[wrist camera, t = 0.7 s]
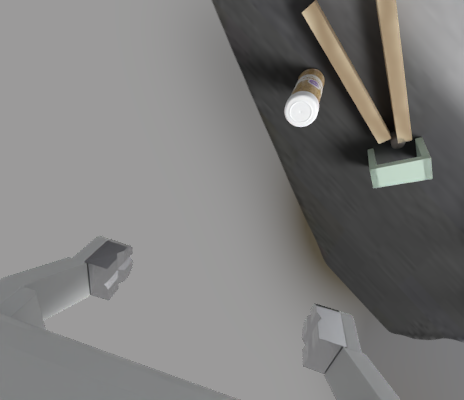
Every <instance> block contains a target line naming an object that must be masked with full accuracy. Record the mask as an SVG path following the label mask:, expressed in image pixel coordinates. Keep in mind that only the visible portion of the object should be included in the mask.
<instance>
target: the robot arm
mask: <svg viewBox="0 0 464 400" xmlns="http://www.w3.org/2000/svg"><path fill="white" fill-rule="evenodd" d="M131 254H132V247H131V246H129V245H126V244H123V243H120V242H117V241H115V240H112V239H108V238H105V237H102V236H99V237H96V238H95V239H94V240H93V241H91V242H90V243H89V244H88V245H87V246H86V247H84V248H83V249H82V250H81V251H80V252H79V253H77V254H76V255H75V256H74V257H73V258H69V257H68V258H65V259H62V260H58V261H56V262H52V263H49V264H46V265H42V266H39V267H36V268H33V269H30V270H26V271H23V272H20V273H17V274H14V275H10V276H7V277H4V278H2V279H1V280H0V400H239V399H236V398H234V397H231V396H228V395H225V394H223V393H220V392H217V391H214V390H212V389H208V388H206V387H203V386H200V385H198V384H195V383H192V382H189V381H186V380H184V379H181V378H178V377H175V376H172V375H170V374H167V373H164V372H161V371H159V370H156V369H153V368H150V367H148V366H145V365H142V364H139V363H136V362H134V361H131V360H128V359H125V358H123V357H120V356H117V355H114V354H111V353H108V352H106V351H103V350H100V349H98V348H95V347H92V346H89V345H87V344H84V343H81V342H78V341H76V340H72V339H70V338H67V337H64V336H61V335H59V334H56V333H53V332H50V331H48V330H46V329H45V325H44V320H45V319H47V318H49V317H51V316H53V315H55V314H57V313H59V312H60V311H62V310H64V309H66V308H68V307H70V306H72V305H73V304H75V303H77V302H79V301H81V300H83V299H85V298H87V297H89V296H90V295H93V296H96V297H100V298H103V299H106V300H109V299H110V298H111V297H112V296H113V294H114V293H115V292H116V291H117V289H118V283H121V282H123V281H124V280H125V279H126V278H127V277H128V275H129V273H130V271H131V269H132V259H131V258H130V255H131ZM302 339H303V341H304V343H305V346H304V348H303V366H304V367H307V368H309V369H312V370H315V371H318V372H320V373H323V374H325V375H324V376H325V378H326V380H327V382H328V384H329V386H330V388H331V390H332V392H333V394H334V396H335V398H336V400H400V398H399V397H398V396H397V394H396V393H395V392H394V390H393V389H392V388H391V387H390V385H389V384H388V383H387V381H386V380H385V379H384V378H383V376H382V375H381V374H380V373H379V371H378V370H377V368H376V367H375V366H374V364H373V363H372V362H371V361H370V359H369V358H368V357H367V355H366V354H363V353H362V352H361V347H360V344H359V339H358V334H357V330H356V326H355V321H354V317H353V316H352V315H351V314H347V313H344V312H341V311H338V310H334V309H331V308H327V307H325V306H321V305H318V304H314V305H313V306H312V308H311V315H309V316H307V318H306V320H305V322H304V326H303V332H302Z"/></svg>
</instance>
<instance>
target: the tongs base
mask: <svg viewBox="0 0 464 400" xmlns="http://www.w3.org/2000/svg"><path fill="white" fill-rule="evenodd" d="M376 7H377V14H378V20H379V27H380V34H381V40H382V47H383V54H384V60H385V67H386V74H387V80H388V87H389V94H390V100H391V107H392V113H393V120H394V127H395V131H393V132H391V133H390V135H391V139H390V142H391V146H392V147H393V148H395V149H399V148H402V147H403V146H404V145H405V142H407V141H411V140H412V134H411V126H410V117H409V109H408V100H407V92H406V83H405V75H404V66H403V58H402V49H401V40H400V32H399V23H398V15H397V6H396V0H376Z"/></svg>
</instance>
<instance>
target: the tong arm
mask: <svg viewBox="0 0 464 400" xmlns="http://www.w3.org/2000/svg"><path fill="white" fill-rule="evenodd" d="M302 14H303V16H304V18H305V20H306V21H307V23H308V25H309V26H310V28H311V30H312V31H313V33H314V35H315V37H316V38H317V40H318V42H319V43H320V45H321V47H322V48H323V50H324V52H325V54H326V55H327V57H328V59H329V60H330V62H331V64H332V65H333V67H334V69H335V71H336V72H337V74H338V76H339V77H340V79H341V81H342V82H343V84H344V86H345V88H346V89H347V91H348V93H349V94H350V96H351V98H352V99H353V101H354V103H355V105H356V106H357V108H358V110H359V111H360V113H361V115H362V116H363V118H364V120H365V122H366V123H367V125H368V127H369V128H370V130H371V132H372V133H373V135H374V137H375V139H376V140H377V142H378V144H380V143H383V142H385V141H387V140H389V139H391V135H390V131H389V129H388V127H387V126H386V124H385V122H384V120H383V118H382V117H381V115H380V113H379V111H378V110H377V108H376V106H375V104H374V102H373V101H372V99H371V97H370V95H369V93H368V92H367V90H366V88H365V86H364V84H363V83H362V81H361V79H360V77H359V75H358V74H357V72H356V70H355V68H354V67H353V65H352V63H351V61H350V59H349V58H348V56H347V54H346V52H345V50H344V49H343V47H342V45H341V43H340V41H339V40H338V38H337V36H336V34H335V32H334V31H333V29H332V27H331V25H330V24H329V22H328V20H327V18H326V16H325V15H324V13H323V11H322V9H321V7H320V6H319V4H318V2H317V0H315V1H314V2H313V3H312V4H311V5H310V6H309V7H307V8H306V9H305V10H304V11H303V12H302Z"/></svg>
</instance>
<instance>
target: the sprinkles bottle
mask: <svg viewBox="0 0 464 400" xmlns="http://www.w3.org/2000/svg"><path fill="white" fill-rule="evenodd" d="M323 86H324V76H323V74H322V73H321V72H320V71H319V70H317V69H307V70H305V71H304V72H303V73H302V74H301V75H300V76H299V78H298V81H297V83H296V85H295V88H294V90H293V92H292V94H291V96H290V97H289V99H288V101H287V103H286V105H285V109H284V113H285V117H286V119H287V121H288V122H289V123H290V124H292V125H294V126H297V127H304V126H307V125H309V124H311V123H312V122H313V121H314V120H315V118H316V117H317V114H318V110H319V101H320V98H321V94H322V90H323Z"/></svg>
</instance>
